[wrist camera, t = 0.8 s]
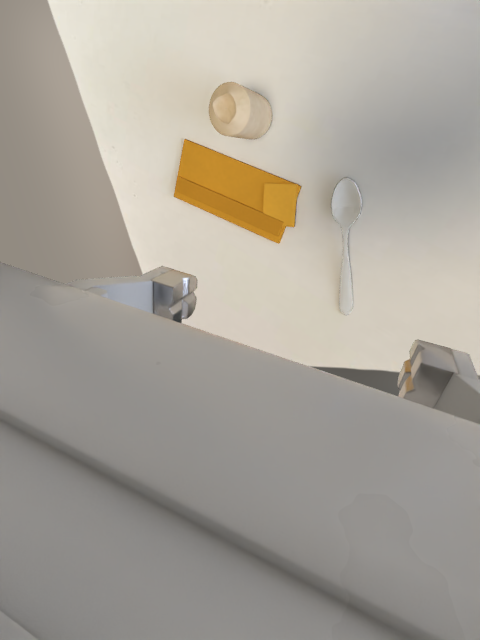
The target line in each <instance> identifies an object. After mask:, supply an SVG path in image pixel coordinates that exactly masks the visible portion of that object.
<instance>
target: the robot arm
mask: <svg viewBox="0 0 480 640" xmlns="http://www.w3.org/2000/svg"><path fill="white" fill-rule="evenodd" d="M196 288H197V278H196V276H193V275H190V274H187V273H183V272H180V271H177V270H174V269H172V268H168V267H164V266H161V267H158V268H156V269H154V270H152V271H150V272H148V273H145V274H143V275H141V276H139V277H137V276H125V277H110V278H96V279H81V280H75V281H72V282H70V283H67V284H64V283H60V282H57V281H55V280H52V279H49V278H46V277H43V276H40V275H37V274H34V273H31V272H28V271H25V270H22V269H19V268H16V267H13V266H10V265H7V264H5V263H1V262H0V640H480V381H479V378H478V376H477V373H476V371H475V368H474V366H473V363H472V361H471V358H470V356H469V354H468V353H465V352H461V351H457V350H453V349H451V348H448V347H444V346H440V345H436V344H433V343H429V342H425V341H421V340H415V341H414V343H413V344H412V347H411V349H410V351H409V352H410V359H409V360H407V361H405V362H404V364H403V366H402V369H401V371H400V375H399V378H398V389H399V390H400V393H399V395H398V396H395V395H392V394H389V393H386V392H383V391H380V390H377V389H374V388H371V387H368V386H365V385H362V384H359V383H356V382H353V381H350V380H347V379H344V378H342V377H339V376H335V375H333V374H330V373H327V372H324V371H321V370H318V369H315V368H312V367H309V366H306V365H303V364H300V363H297V362H294V361H291V360H288V359H285V358H282V357H279V356H277V355H274V354H271V353H268V352H265V351H262V350H259V349H256V348H253V347H250V346H247V345H244V344H241V343H238V342H235V341H232V340H229V339H226V338H223V337H220V336H217V335H214V334H211V333H209V332H206V331H203V330H200V329H197V328H194V327H191V326H188V325H185V324H182V323H181V321H182V319H186V318H188V317H190V316H191V315H192V313H193V311H194V309H195V306H196V296H195V294H194V291H195V289H196Z"/></svg>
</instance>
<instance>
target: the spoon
mask: <svg viewBox="0 0 480 640" xmlns="http://www.w3.org/2000/svg"><path fill="white" fill-rule="evenodd" d="M361 208H362V200H361V195H360V191H359V189H358V186H357V185H356V183H355V182H354V181H353V180H351V179H350V178H347V177H345V178H343V179H342V180H340V181H339V182H338V183H337V185H336V187H335V189H334V192H333V196H332V201H331V211H332V216H333V217H334V219H335V221H336V222H337V223H338V224H339V225H340V227H341V230H342V238H343V259H342V267H341V277H340V298H339V308H340V311H341V313H342V314H344V315H349V314H350V313H351V312H352V309H353V295H352V279H351V271H350V264H349V257H348V231H349V228H350V226H351V225H352V224H353V223H354V222H355V221H356V220H357V218H358V217H359V215H360V212H361Z"/></svg>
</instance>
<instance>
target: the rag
mask: <svg viewBox="0 0 480 640" xmlns="http://www.w3.org/2000/svg"><path fill="white" fill-rule="evenodd" d="M300 189H301V186H299V185H298V184H294V183H292V182H290V181H287V180H285V179H282V178H280V177H277V176H275V175H272V174H270V173H267V172H265V171H262V170H260V169H258V168H255V167H253V166H250V165H248V164H245V163H243V162H240V161H238V160H235V159H233V158H231V157H228V156H226V155H223V154H221V153H218V152H216V151H213V150H211V149H208V148H206V147H204V146H201V145H199V144H196V143H194V142H191V141H189V140H186V139H184V144H183V150H182V155H181V160H180V166H179V171H178V176H177V182H176V187H175V193H174V197H176V198H178V199H180V200H183V201H185V202H187V203H189V204H192V205H194V206H196V207H198V208H200V209H203V210H205V211H207V212H209V213H212V214H214V215H216V216H218V217H220V218H223V219H225V220H227V221H229V222H232V223H234V224H236V225H238V226H240V227H243V228H245V229H247V230H249V231H252V232H254V233H256V234H258V235H260V236H263V237H265V238H267V239H269V240H272V241H274V242H276V243H278V244H279V243H280V240H281V238H282V235H283V233H284V230H285V227H286V226H288V227H294V224H295V212H296V199H297V197H298V194H299V191H300Z"/></svg>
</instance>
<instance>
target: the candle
mask: <svg viewBox="0 0 480 640" xmlns="http://www.w3.org/2000/svg"><path fill="white" fill-rule="evenodd" d="M209 116H210V120H211V123H212V125H213V127H214V128H215V129H216V130H217V131H218V132H219V133H220V134H222V135H225V136H231V137H238V138H245V139H257V138H260V137H261V136H263V135H264V134H265V133H266V132H267V130H268V129H269V127H270V124H271V121H272V111H271V107H270V104H269V103H268V101H267V100H266V99H265V98H264V97H263V96H261V95H260V94H258V93H256V92H254V91H251V90H249V89H247V88H245V87H243V86H241V85H239V84H237V83H234V82H227V83H224V84H222V85H220V86H219V87H218V88H217V89H216V90H215V91H214V93H213V95H212V97H211V100H210V104H209Z"/></svg>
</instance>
